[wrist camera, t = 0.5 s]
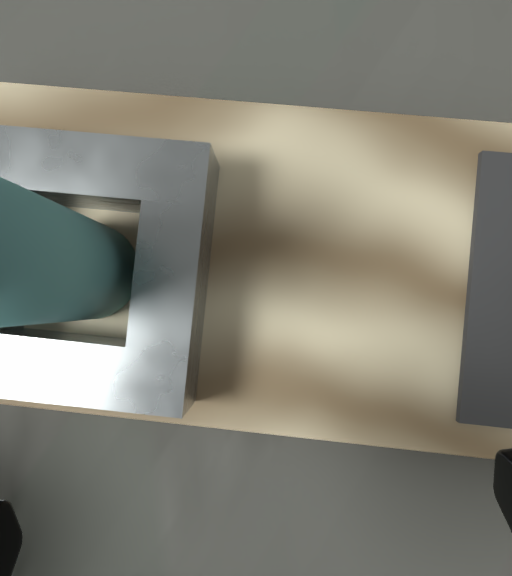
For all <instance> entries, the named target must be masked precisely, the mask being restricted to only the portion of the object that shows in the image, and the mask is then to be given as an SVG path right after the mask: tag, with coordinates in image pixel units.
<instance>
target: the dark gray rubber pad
mask: <svg viewBox="0 0 512 576" xmlns="http://www.w3.org/2000/svg"><path fill="white" fill-rule="evenodd" d="M456 421H457V422H458V423H463V424H472V425H481V426H490V427H500V428H509V429H512V153H508V152H496V151H484V150H482V151H481V152H480V153H478V164H477V176H476V187H475V199H474V211H473V222H472V234H471V246H470V257H469V269H468V281H467V293H466V304H465V316H464V328H463V339H462V351H461V363H460V375H459V386H458V398H457V410H456Z"/></svg>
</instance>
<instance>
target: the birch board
mask: <svg viewBox="0 0 512 576" xmlns="http://www.w3.org/2000/svg"><path fill="white" fill-rule="evenodd" d="M0 125H7V126H19V127H31V128H42V129H54V130H66V131H78V132H90V133H101V134H113V135H125V136H137V137H149V138H161V139H172V140H184V141H196V142H208V143H211V145H212V148H213V150H214V153H215V155H216V158H217V161H218V163H219V166H220V169H219V179H218V189H217V198H216V208H215V218H214V228H213V237H212V247H211V257H210V266H209V276H208V286H207V296H206V305H205V315H204V325H203V335H202V344H201V354H200V364H199V373H198V383H197V393H196V401H195V403H194V404H193V405H192V407H191V408H190V409H189V410H188V412H187V413H186V414H185V415H184V417H183V418H182V419H181V418H172V417H163V416H154V415H145V414H136V413H127V412H118V411H109V410H100V409H91V408H82V407H73V406H64V405H55V404H46V403H37V402H28V401H19V400H11V399H2V398H0V404H5V405H14V406H23V407H32V408H41V409H50V410H59V411H68V412H77V413H85V414H94V415H103V416H112V417H121V418H130V419H139V420H148V421H157V422H166V423H175V424H183V425H192V426H201V427H210V428H219V429H228V430H237V431H246V432H255V433H264V434H273V435H281V436H290V437H299V438H308V439H317V440H326V441H335V442H344V443H353V444H362V445H371V446H379V447H388V448H397V449H406V450H415V451H424V452H433V453H442V454H451V455H460V456H469V457H477V458H486V459H495V456H496V453H497V451H499V450H501V449H510V448H512V429H509V428H500V427H490V426H481V425H472V424H463V423H458V422H457V421H456V410H457V398H458V386H459V375H460V363H461V351H462V339H463V328H464V316H465V304H466V293H467V281H468V269H469V257H470V246H471V234H472V222H473V211H474V199H475V187H476V176H477V164H478V153H480V152H481V151H482V150H484V151H496V152H508V153H512V123H503V122H490V121H478V120H465V119H453V118H441V117H428V116H416V115H403V114H391V113H378V112H366V111H354V110H341V109H329V108H316V107H304V106H291V105H279V104H266V103H254V102H242V101H229V100H217V99H204V98H192V97H179V96H167V95H155V94H142V93H130V92H117V91H105V90H92V89H80V88H67V87H55V86H43V85H30V84H18V83H5V82H0ZM65 207H67V206H65ZM67 208H69V209H71V210H73V211H76V212H78V213H80V214H82V215H84V216H86V217H89V218H91V219H93V220H95V221H97V222H99V223H102V224H104V225H106V226H108V227H110V228H112V229H115V230H116V231H118V232H119V233H121V234H122V235H123V236H124V237H125V238H126V239H127V240H128V241H129V242H130V244H131V245H132V246H133V248H134V250H135V252H136V243H137V234H138V225H139V215H140V213H132V212H121V211H110V210H99V209H89V208H78V207H67ZM129 308H130V300H129V301H128V303H127V304H126V305H125V306H124V307H123V308H121V309H120V310H119V311H117V312H116V313H114V314H112V315H110V316H107V317H104V318H100V319H89V320H79V321H68V322H57V323H46V324H35V325H24V328H32V329H41V330H51V331H60V332H70V333H80V334H89V335H99V336H108V337H118V338H126V336H127V326H128V317H129Z"/></svg>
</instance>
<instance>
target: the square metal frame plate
mask: <svg viewBox="0 0 512 576" xmlns="http://www.w3.org/2000/svg"><path fill="white" fill-rule="evenodd" d="M219 169H220V166H219V163H218V161H217V158H216V155H215V153H214V150H213V148H212V145H211V143H208V142H196V141H184V140H172V139H161V138H149V137H137V136H125V135H113V134H101V133H90V132H78V131H66V130H54V129H42V128H31V127H19V126H7V125H0V177H2V178H4V179H6V180H8V181H11V182H13V183H15V184H17V185H19V186H21V187H24V188H26V189H28V190H30V191H32V192H34V193H37V194H39V195H41V196H43V197H45V198H47V199H50V200H52V201H54V202H56V203H58V204H60V205H63V206H67V207H78V208H89V209H99V210H110V211H121V212H132V213H140V215H139V225H138V234H137V243H136V252H135V262H134V271H133V280H132V289H131V299H130V308H129V317H128V326H127V336H126V338H118V337H108V336H99V335H89V334H80V333H70V332H60V331H51V330H41V329H32V328H24V326H13V327H2V328H0V398H2V399H11V400H19V401H28V402H37V403H46V404H55V405H64V406H73V407H82V408H91V409H100V410H109V411H118V412H127V413H136V414H145V415H154V416H163V417H172V418H181V419H182V418H183V417H184V415H185V414H186V413H187V412H188V410H189V409H190V408H191V407H192V405H193V404H194V403H195V401H196V393H197V383H198V373H199V364H200V354H201V344H202V335H203V325H204V315H205V305H206V296H207V286H208V276H209V266H210V257H211V247H212V237H213V228H214V218H215V208H216V198H217V189H218V179H219Z"/></svg>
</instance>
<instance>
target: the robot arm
mask: <svg viewBox="0 0 512 576" xmlns="http://www.w3.org/2000/svg"><path fill="white" fill-rule="evenodd" d="M493 488H494V493H495V497H496V500H497V502H498V504H499V506H500V508H501V510H502V513H503V515H504V517H505V519H506V521H507V523H508V525H509V527H510V530H511V532H512V448H510V449H501V450H499V451H497V453H496V456H495V468H494V483H493ZM21 545H22V531H21V528H20V525H19V523H18V520H17V518H16V515H15V512H14V510H13V507H12V505H11V503H10V502H9V501H8V500H0V576H11V575H12V572H13V569H14V566H15V563H16V560H17V557H18V554H19V551H20V548H21Z"/></svg>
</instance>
